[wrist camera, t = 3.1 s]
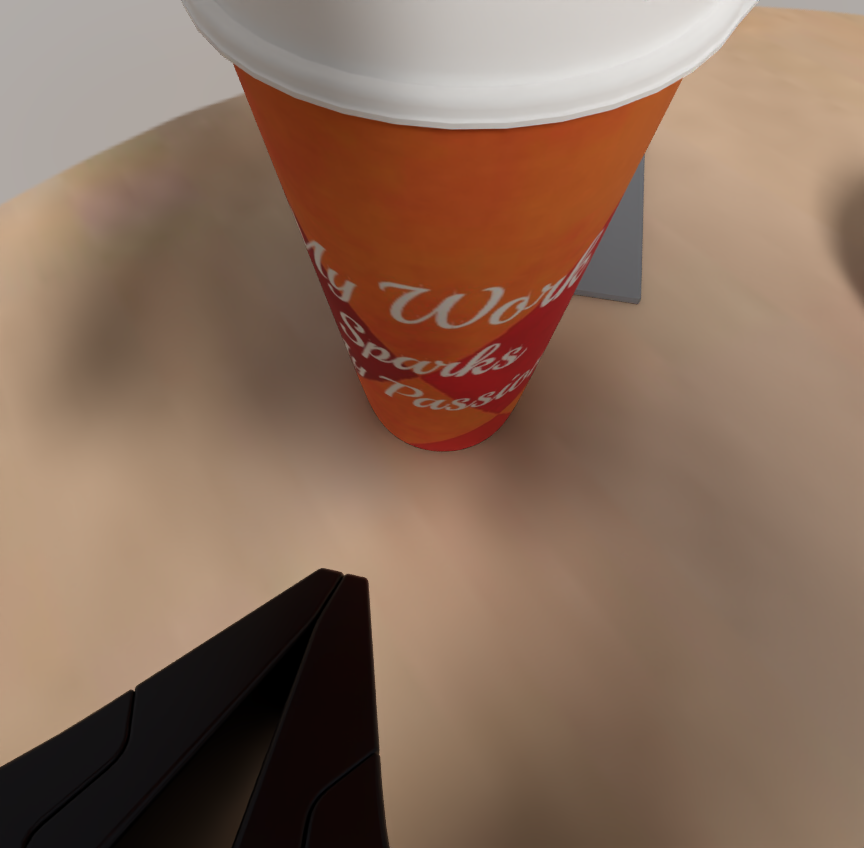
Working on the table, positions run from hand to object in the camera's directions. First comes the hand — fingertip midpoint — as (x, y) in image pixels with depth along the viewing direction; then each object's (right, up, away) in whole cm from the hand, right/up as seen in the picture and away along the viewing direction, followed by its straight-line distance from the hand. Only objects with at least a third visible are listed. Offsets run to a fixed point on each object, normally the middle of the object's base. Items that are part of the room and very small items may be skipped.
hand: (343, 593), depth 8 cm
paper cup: (+2, +4, +10) cm, 11 cm away
